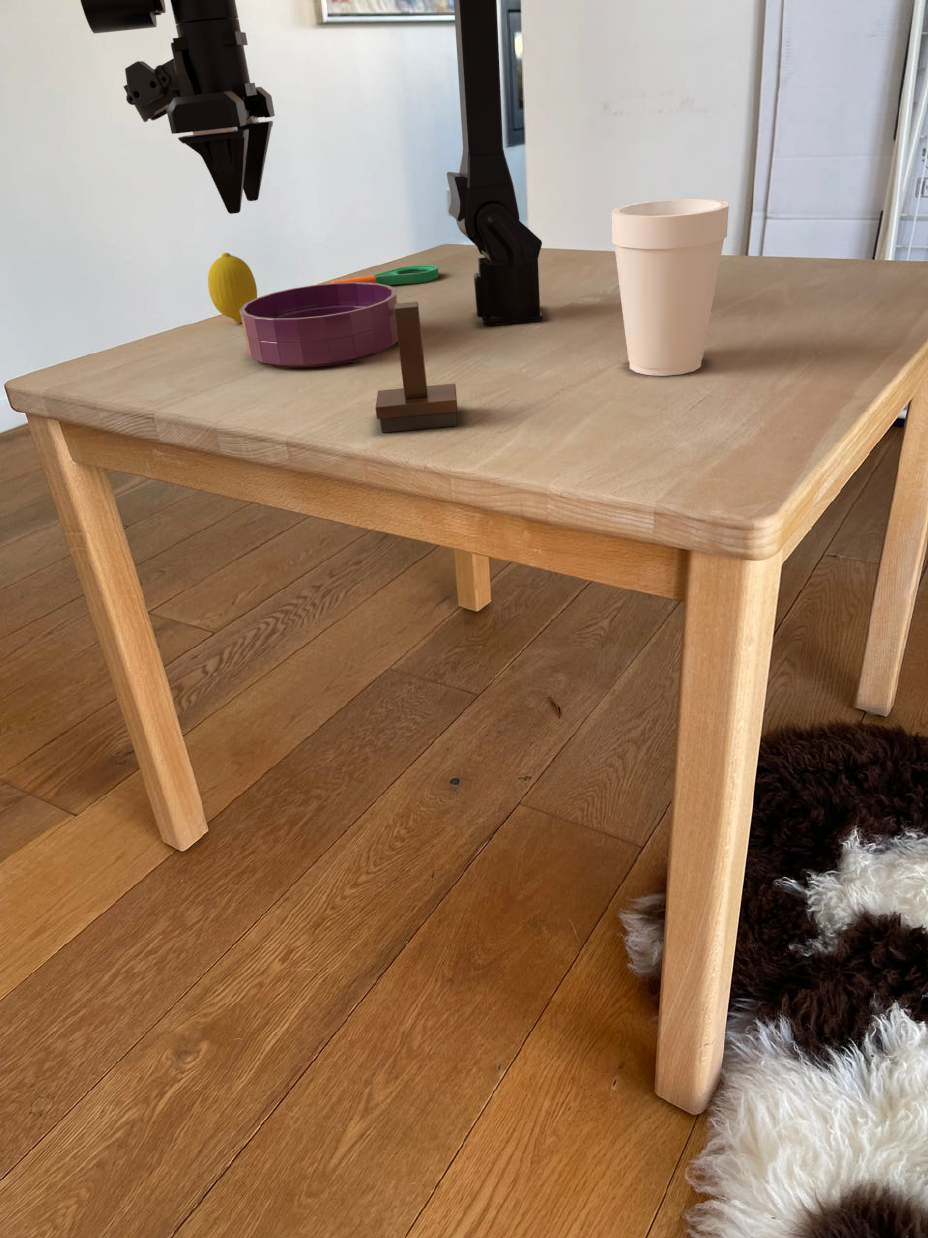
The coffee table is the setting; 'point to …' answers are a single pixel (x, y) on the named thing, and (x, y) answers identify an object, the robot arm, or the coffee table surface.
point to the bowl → (320, 324)
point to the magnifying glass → (398, 276)
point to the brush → (414, 384)
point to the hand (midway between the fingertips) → (244, 206)
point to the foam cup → (668, 279)
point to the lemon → (231, 285)
